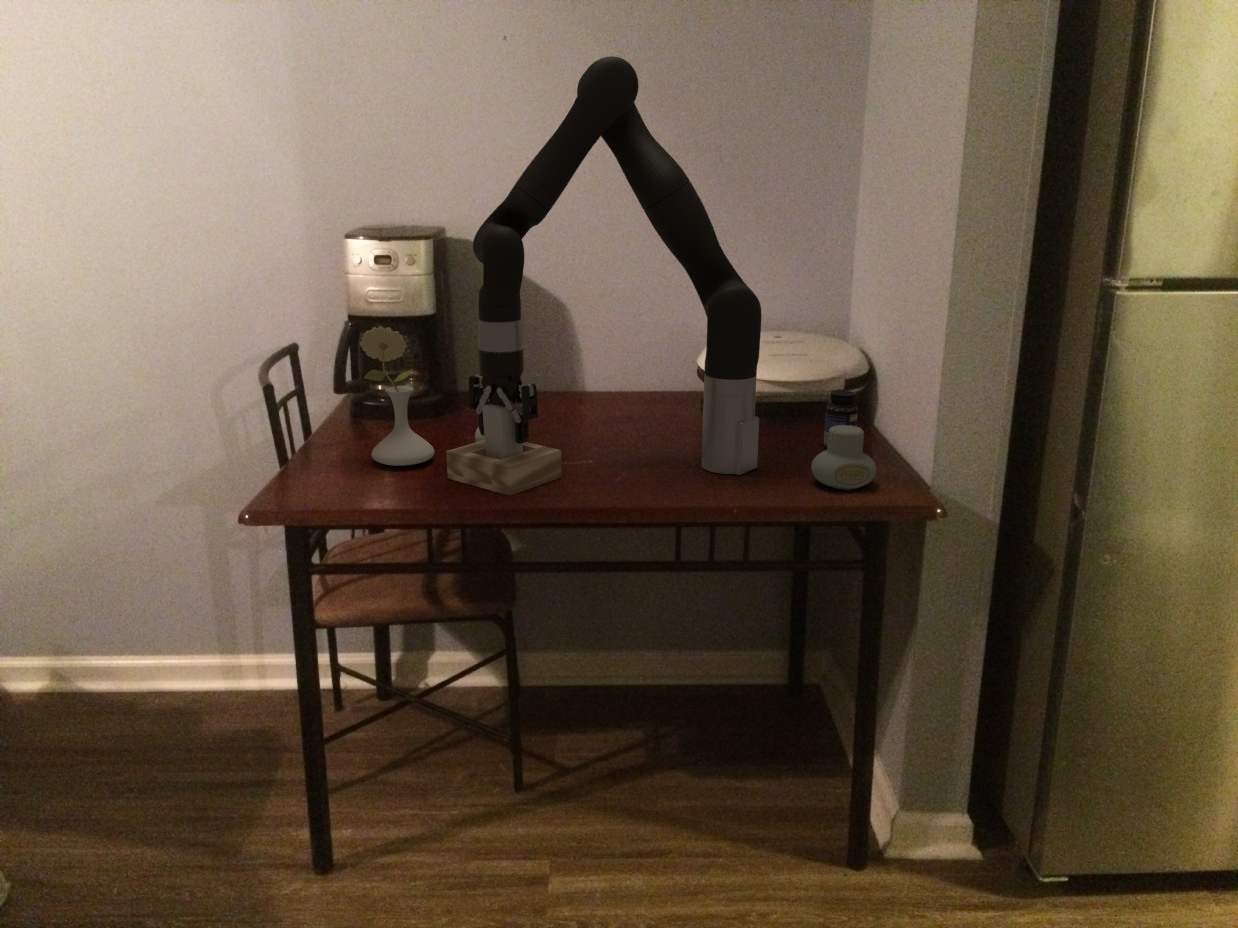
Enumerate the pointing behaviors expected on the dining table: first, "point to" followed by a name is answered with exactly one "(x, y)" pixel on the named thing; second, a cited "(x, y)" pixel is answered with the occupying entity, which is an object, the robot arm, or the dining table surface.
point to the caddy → (504, 467)
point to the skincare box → (500, 432)
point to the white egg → (478, 436)
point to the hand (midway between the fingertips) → (503, 438)
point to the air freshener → (844, 460)
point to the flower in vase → (394, 402)
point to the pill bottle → (840, 411)
